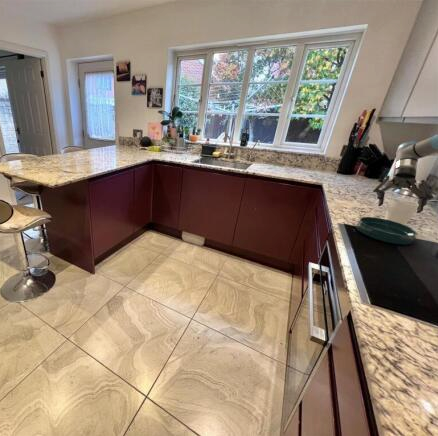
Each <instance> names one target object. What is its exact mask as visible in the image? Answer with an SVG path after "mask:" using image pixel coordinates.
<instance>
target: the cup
mask: <svg viewBox="0 0 438 436" xmlns="http://www.w3.org/2000/svg"><path fill="white" fill-rule="evenodd" d="M418 206H419V204H418V202H416V201H412V200H409V199H403V198H392V199H391V201H390V203H389V204H388V207H387V208H386V209H387V210H386V213H385V216H384V219H386V220H390V221H394V222H397V223H400V224H403V225H406V224H407V223H408V222H409V220H411V218H412V217H413V216H414V215H415V213H417V208H418Z"/></svg>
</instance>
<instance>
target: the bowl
mask: <svg viewBox="0 0 438 436" xmlns="http://www.w3.org/2000/svg"><path fill="white" fill-rule="evenodd" d="M355 229H356V230H357V231H358V232H360V233H361V234H363V235H365V236H367V237H369V238H372V239H374V240H376V241H380V242H384V243H388V244H394V245H395V244H396V245H404V246H406V245H411V244H413V243H414V241H415V239H416V238H417V237H418V232H417V231H416V230H415V229H413V228H412V227H410V226H408V225H406V224H405V225H403V224H400V223H397V222H394V221H390V220H386V219H385V218H381V217H375V216H361V217H359V219H358V221H357V223H356V225H355Z"/></svg>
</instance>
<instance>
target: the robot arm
mask: <svg viewBox="0 0 438 436" xmlns="http://www.w3.org/2000/svg"><path fill="white" fill-rule="evenodd" d="M434 154H438V133H437V134H435V135H433V136H431V137H428V138H426V139H424V140H421V141H418V142H417V141H409V142H406V141H405V142H402V143H401V144H400V145H399V146H398V147H397V150H396V154H395V155H396V156H395V163H394V168H393V174H392V177H391V176H390V175H385V177H384V178H383V181H381V182H380V183H379V184H378V185H377V186H376V187H375V188H374V189H373V190H372V192H373V193H376V195H377V196H376V200H378V203H377V204H378V205H377V207H381V206H382V205H384V201H385V194H386V193H385V192H387V191H389V190H390V189H392V188H394V187H396V188H402V189H407V190H409V191H410V192H412V193H413V194H414V196H416V197H417V198H418V199H419V200H417V203H418V204H419V206H418V208H417V210H416V213H417V214H420V213H422V212H423V211H424V207H425V206H427V202H428V201H430V200H432V199H434V195H433V194H432V192H431V191H430V189H429V188H428V186H427V185H426V180H425V179H422V180H417V179H416V177H417V170H418V164H419V163H418V162H419V159H422V158H426V157H429V156H432V155H434ZM388 182H391V183H390V184H388V185H386V186H385V187H384V185H385V184H386V183H388ZM382 187H383V188H382Z"/></svg>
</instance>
